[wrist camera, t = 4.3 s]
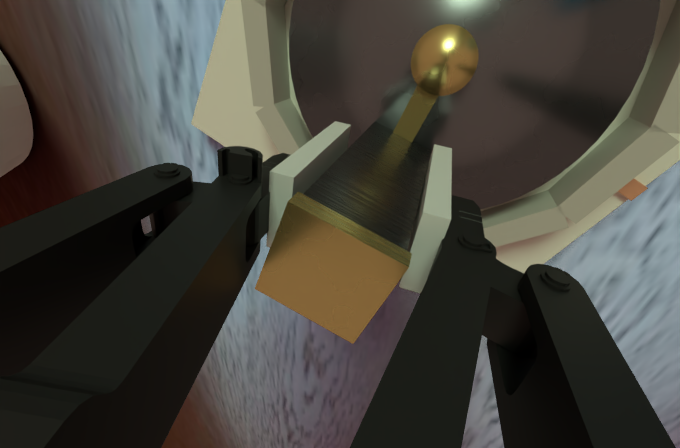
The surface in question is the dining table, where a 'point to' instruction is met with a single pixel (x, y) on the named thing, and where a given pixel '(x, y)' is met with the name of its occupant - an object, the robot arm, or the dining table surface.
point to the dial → (437, 124)
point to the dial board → (498, 221)
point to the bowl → (13, 120)
